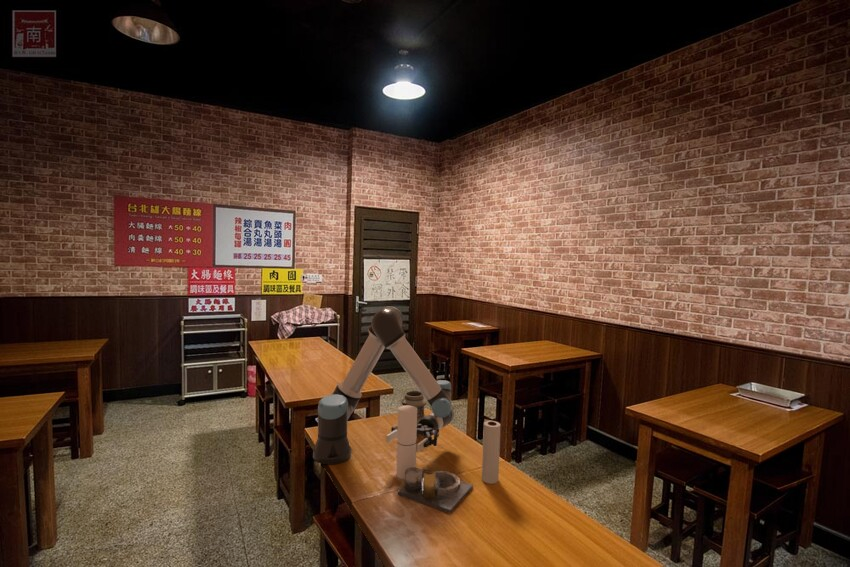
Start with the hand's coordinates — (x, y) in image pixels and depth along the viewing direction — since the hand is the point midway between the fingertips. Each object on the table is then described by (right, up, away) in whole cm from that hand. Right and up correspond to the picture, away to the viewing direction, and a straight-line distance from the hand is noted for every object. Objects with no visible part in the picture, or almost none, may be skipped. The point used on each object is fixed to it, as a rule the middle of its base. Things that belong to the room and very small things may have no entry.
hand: (402, 443), depth 153 cm
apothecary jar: (+3, -11, +44) cm, 46 cm away
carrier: (+12, -14, -7) cm, 20 cm away
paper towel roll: (+32, -14, +2) cm, 35 cm away
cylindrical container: (+1, -13, +3) cm, 14 cm away
